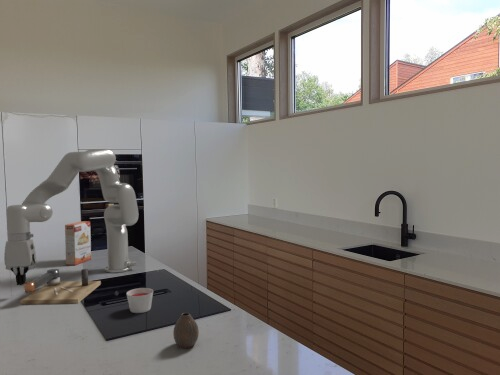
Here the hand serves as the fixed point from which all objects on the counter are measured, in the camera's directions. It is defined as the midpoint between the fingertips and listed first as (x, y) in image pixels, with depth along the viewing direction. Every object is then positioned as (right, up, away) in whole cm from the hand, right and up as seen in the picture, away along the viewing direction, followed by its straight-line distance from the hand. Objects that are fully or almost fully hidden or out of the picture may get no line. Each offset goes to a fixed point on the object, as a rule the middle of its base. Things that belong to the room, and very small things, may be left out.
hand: (21, 284), depth 153 cm
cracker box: (-2, -2, +56) cm, 56 cm away
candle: (+50, -6, -15) cm, 53 cm away
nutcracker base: (+14, -5, +4) cm, 16 cm away
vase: (+71, -7, -43) cm, 83 cm away
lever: (+7, 0, +2) cm, 7 cm away
